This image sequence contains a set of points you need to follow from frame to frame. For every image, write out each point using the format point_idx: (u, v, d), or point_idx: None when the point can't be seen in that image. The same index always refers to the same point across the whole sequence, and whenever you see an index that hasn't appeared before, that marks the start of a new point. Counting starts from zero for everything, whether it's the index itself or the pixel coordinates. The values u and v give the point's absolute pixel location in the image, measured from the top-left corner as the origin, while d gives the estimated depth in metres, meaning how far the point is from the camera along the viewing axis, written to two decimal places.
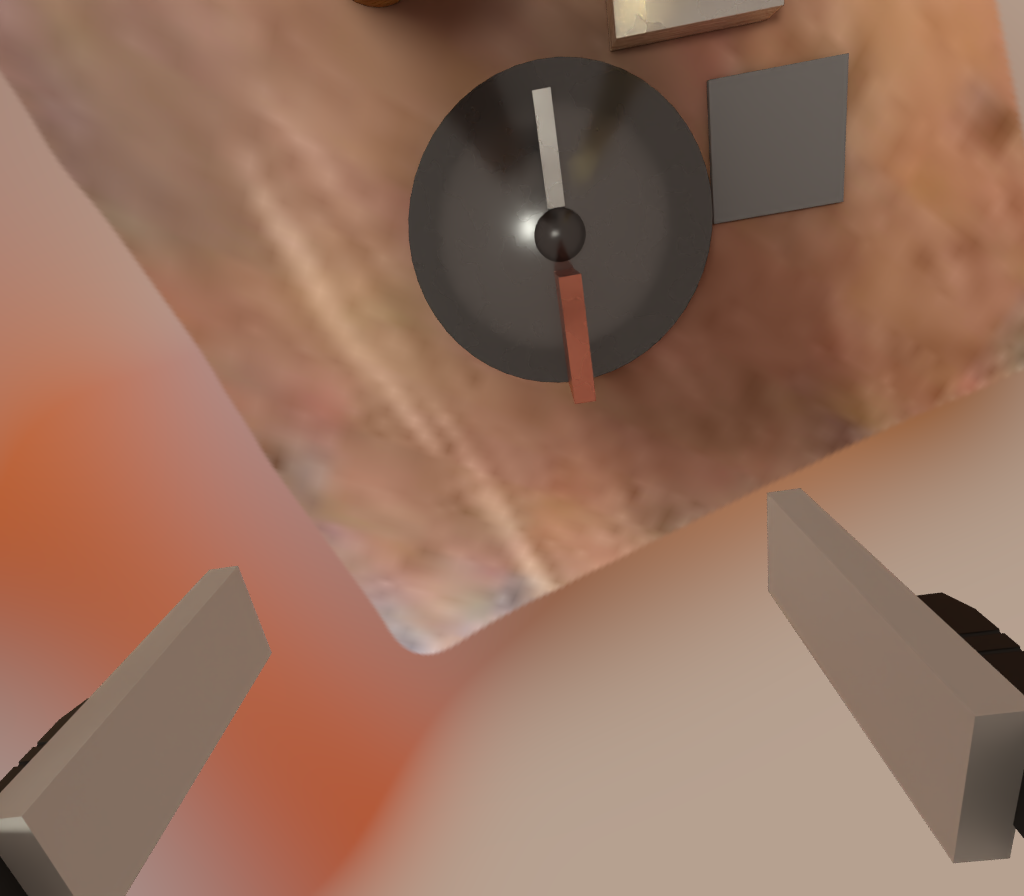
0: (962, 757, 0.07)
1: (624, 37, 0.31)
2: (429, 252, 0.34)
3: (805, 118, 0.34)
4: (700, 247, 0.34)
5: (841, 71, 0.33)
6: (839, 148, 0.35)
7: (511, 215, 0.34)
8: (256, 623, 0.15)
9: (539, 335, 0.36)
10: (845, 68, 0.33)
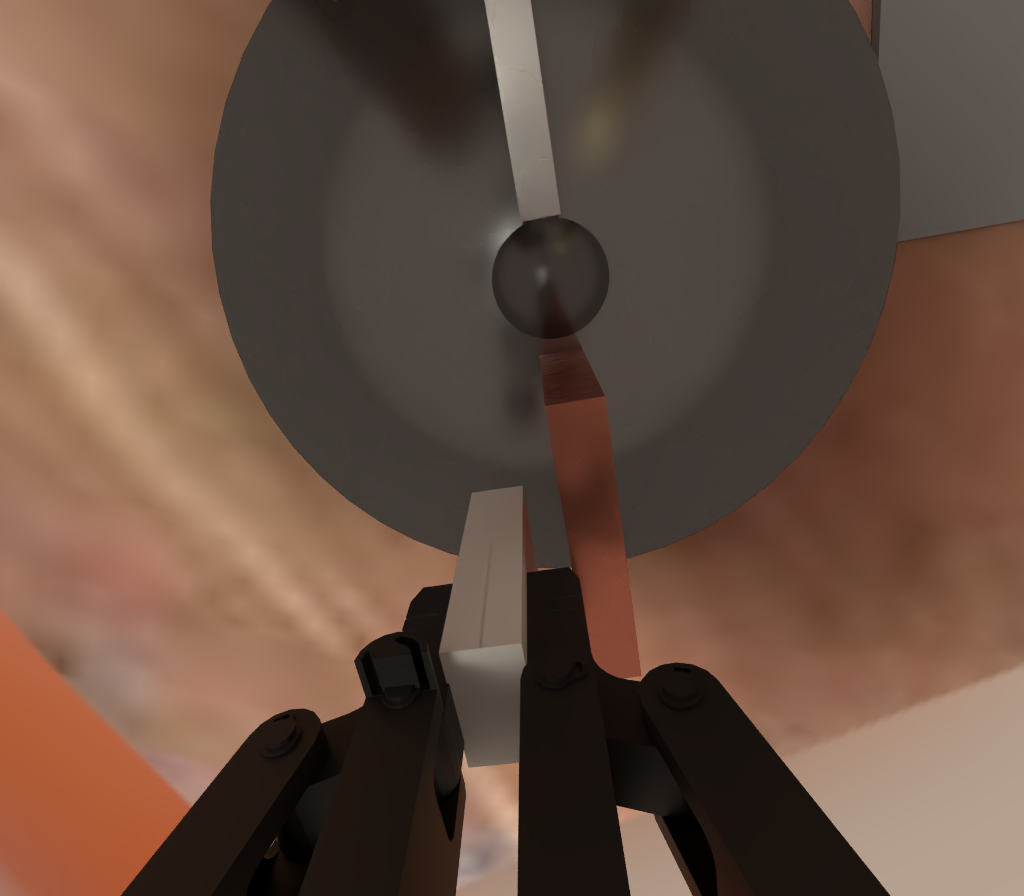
0: None
1: None
2: (266, 319, 0.16)
3: None
4: (865, 300, 0.15)
5: None
6: None
7: (440, 236, 0.15)
8: None
9: (512, 482, 0.17)
10: None
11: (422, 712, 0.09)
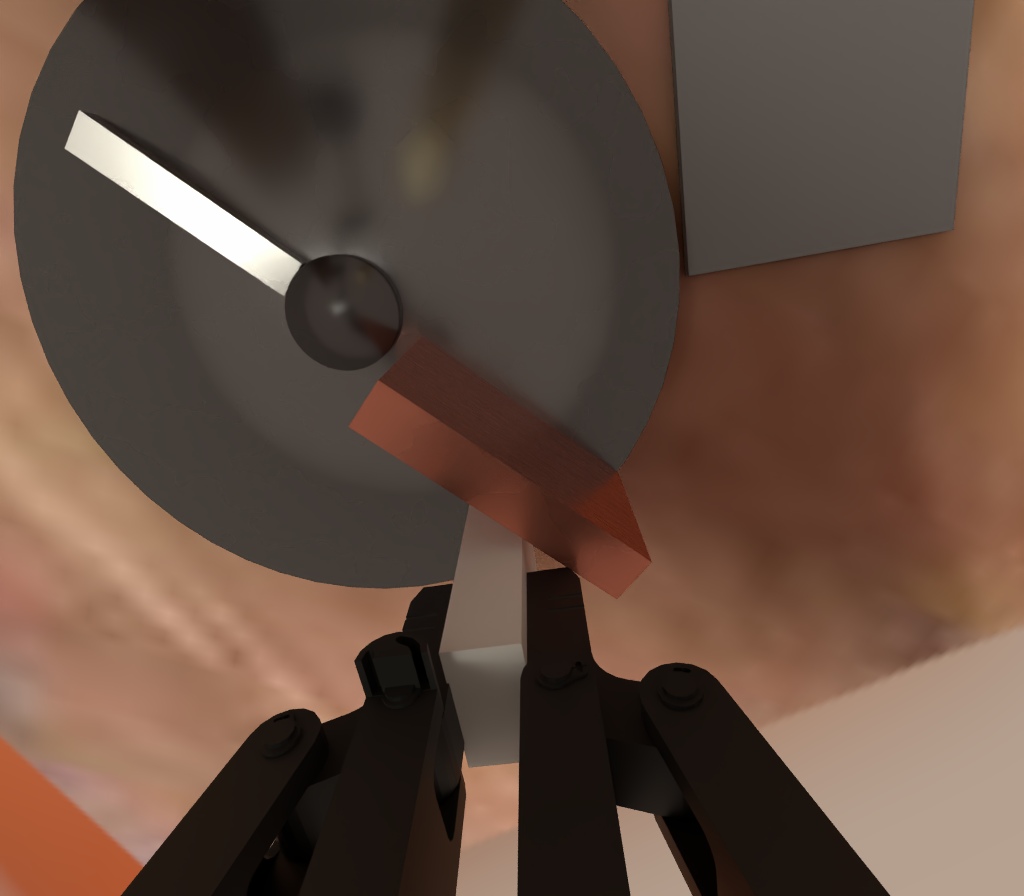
0: None
1: None
2: (218, 511, 0.18)
3: (880, 54, 0.16)
4: (594, 77, 0.14)
5: None
6: (951, 119, 0.16)
7: (256, 356, 0.16)
8: None
9: None
10: None
11: (422, 712, 0.09)
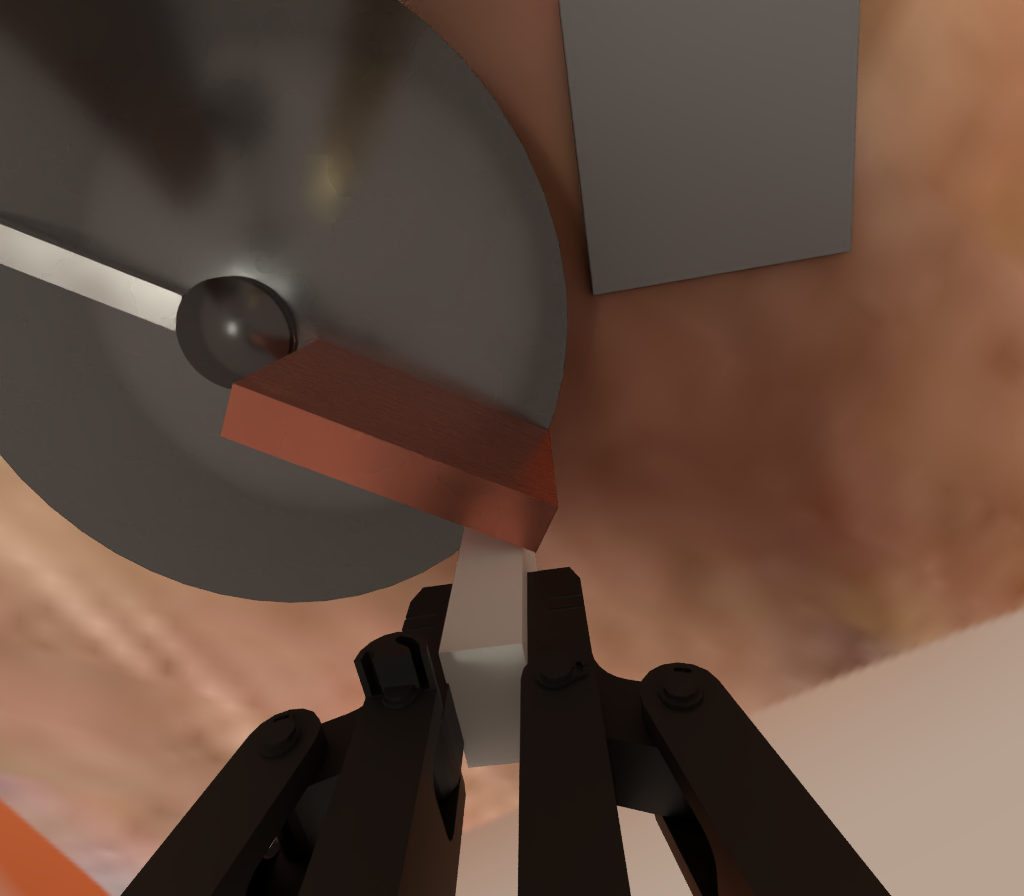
0: None
1: None
2: (182, 553, 0.19)
3: (769, 79, 0.16)
4: (407, 39, 0.13)
5: None
6: (842, 143, 0.17)
7: (172, 395, 0.17)
8: None
9: None
10: None
11: (421, 712, 0.09)
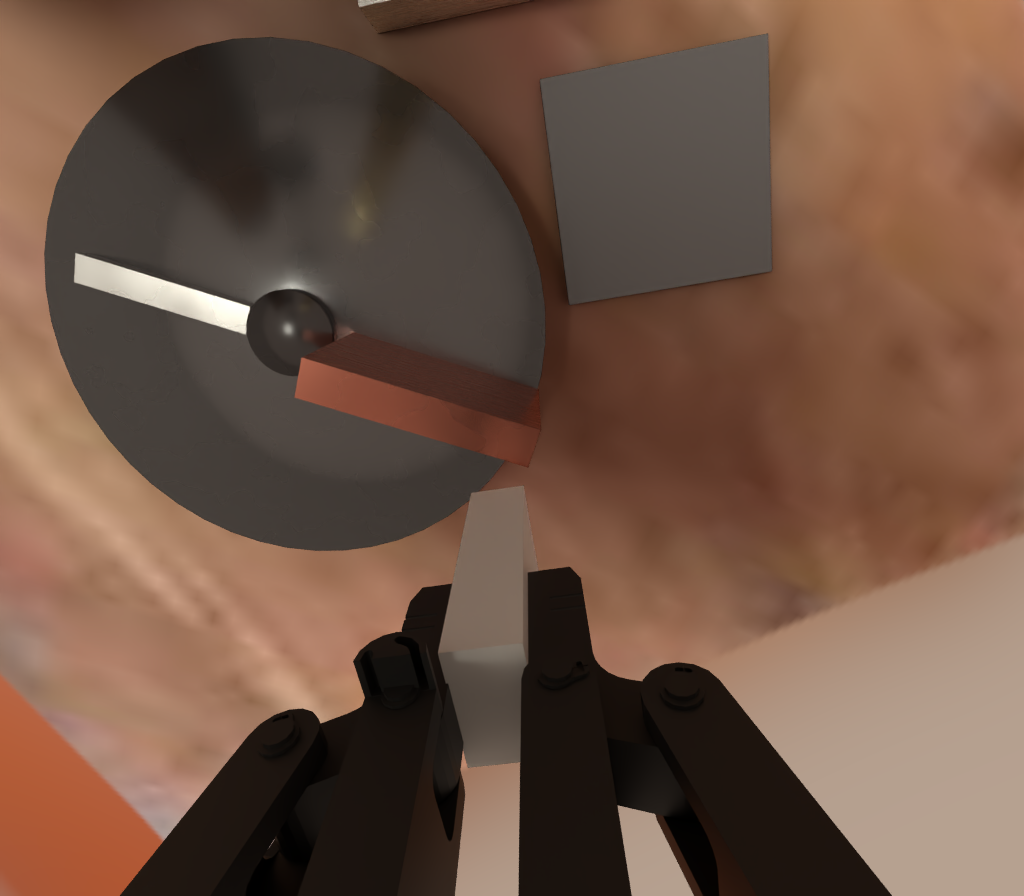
0: None
1: (375, 5, 0.18)
2: (256, 515, 0.23)
3: (702, 140, 0.21)
4: (404, 101, 0.18)
5: (757, 63, 0.20)
6: (761, 188, 0.21)
7: (244, 386, 0.21)
8: None
9: None
10: (764, 58, 0.20)
11: (421, 712, 0.09)
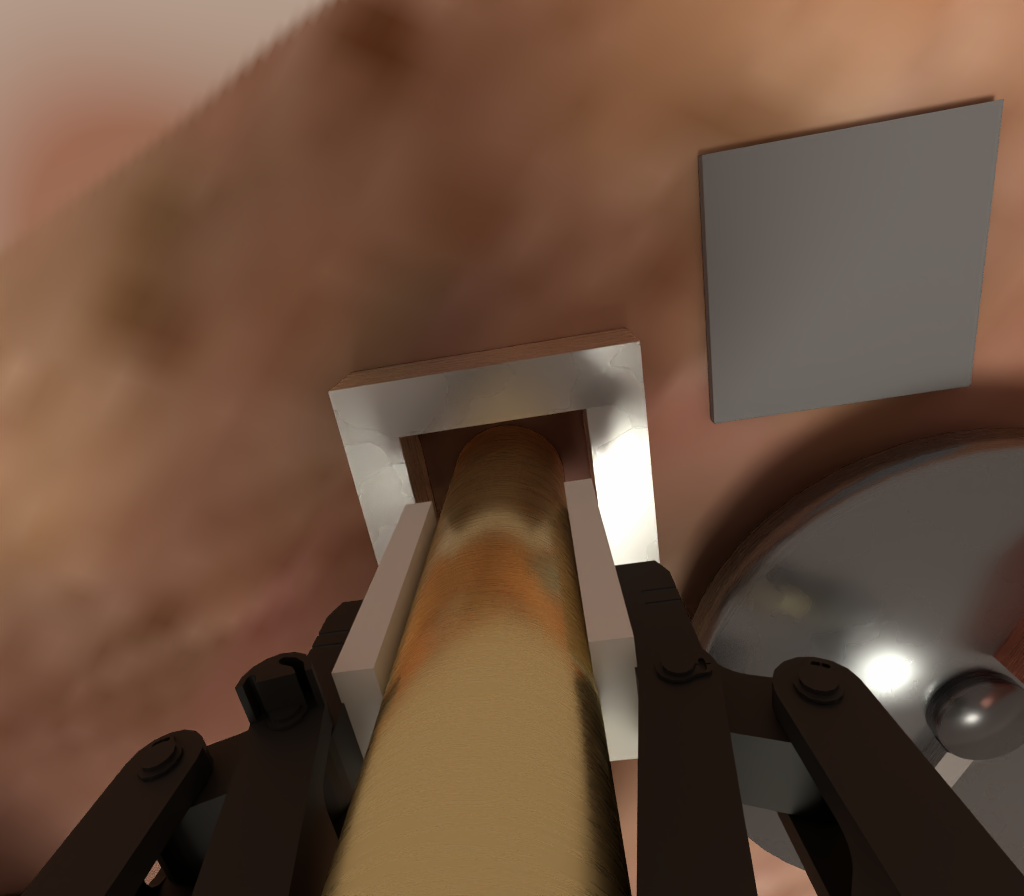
0: None
1: None
2: None
3: (808, 227, 0.17)
4: (772, 591, 0.17)
5: (733, 163, 0.16)
6: (884, 135, 0.16)
7: (1016, 759, 0.19)
8: None
9: None
10: (729, 155, 0.16)
11: (309, 729, 0.09)
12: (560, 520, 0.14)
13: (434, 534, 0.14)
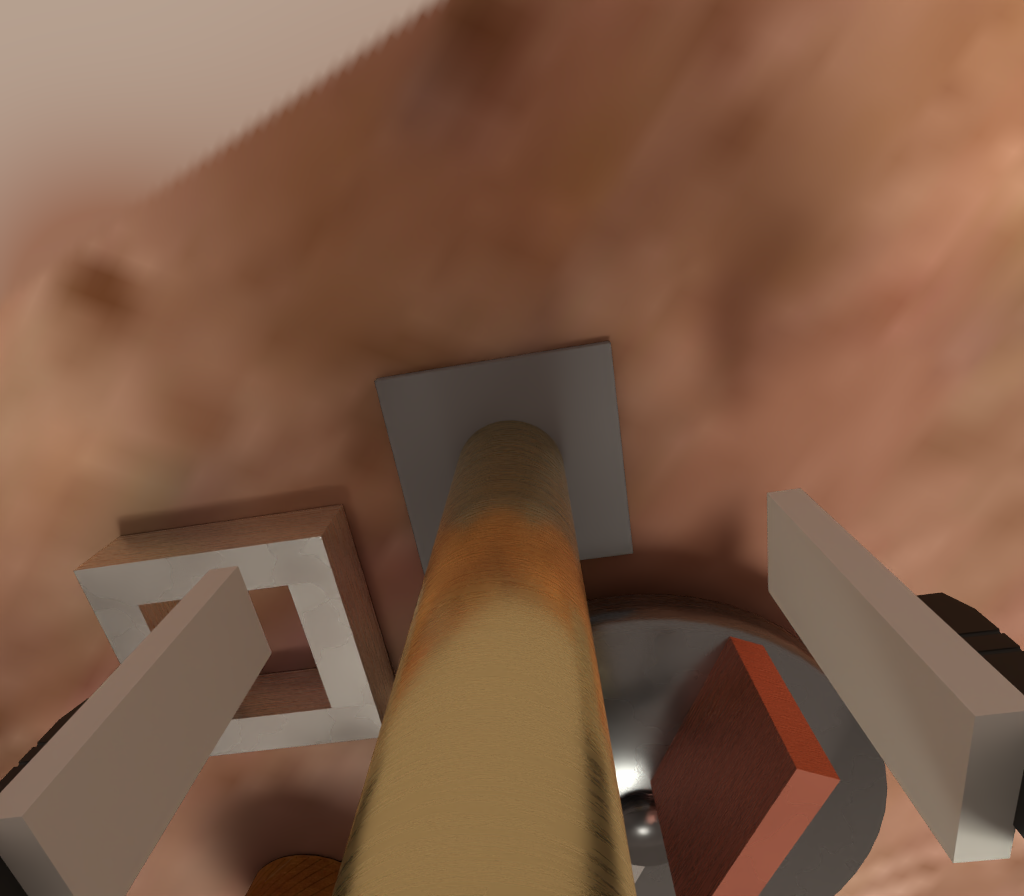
0: (962, 757, 0.07)
1: None
2: (826, 871, 0.23)
3: None
4: None
5: (401, 387, 0.19)
6: (519, 368, 0.19)
7: None
8: (256, 624, 0.15)
9: None
10: (396, 381, 0.19)
11: None
12: (561, 513, 0.15)
13: (439, 527, 0.15)
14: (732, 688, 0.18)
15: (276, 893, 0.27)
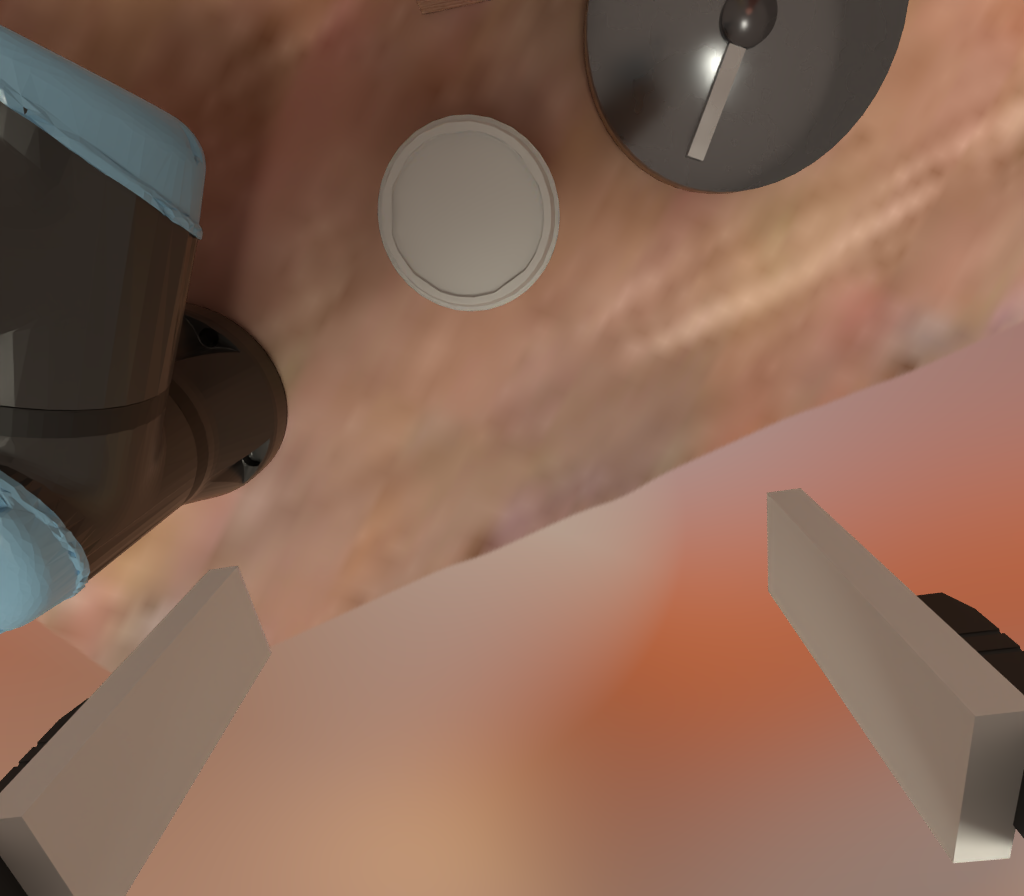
0: (962, 757, 0.07)
1: None
2: (867, 71, 0.33)
3: None
4: None
5: None
6: None
7: (775, 64, 0.33)
8: (256, 623, 0.15)
9: None
10: None
11: None
12: None
13: None
14: None
15: None
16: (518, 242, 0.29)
